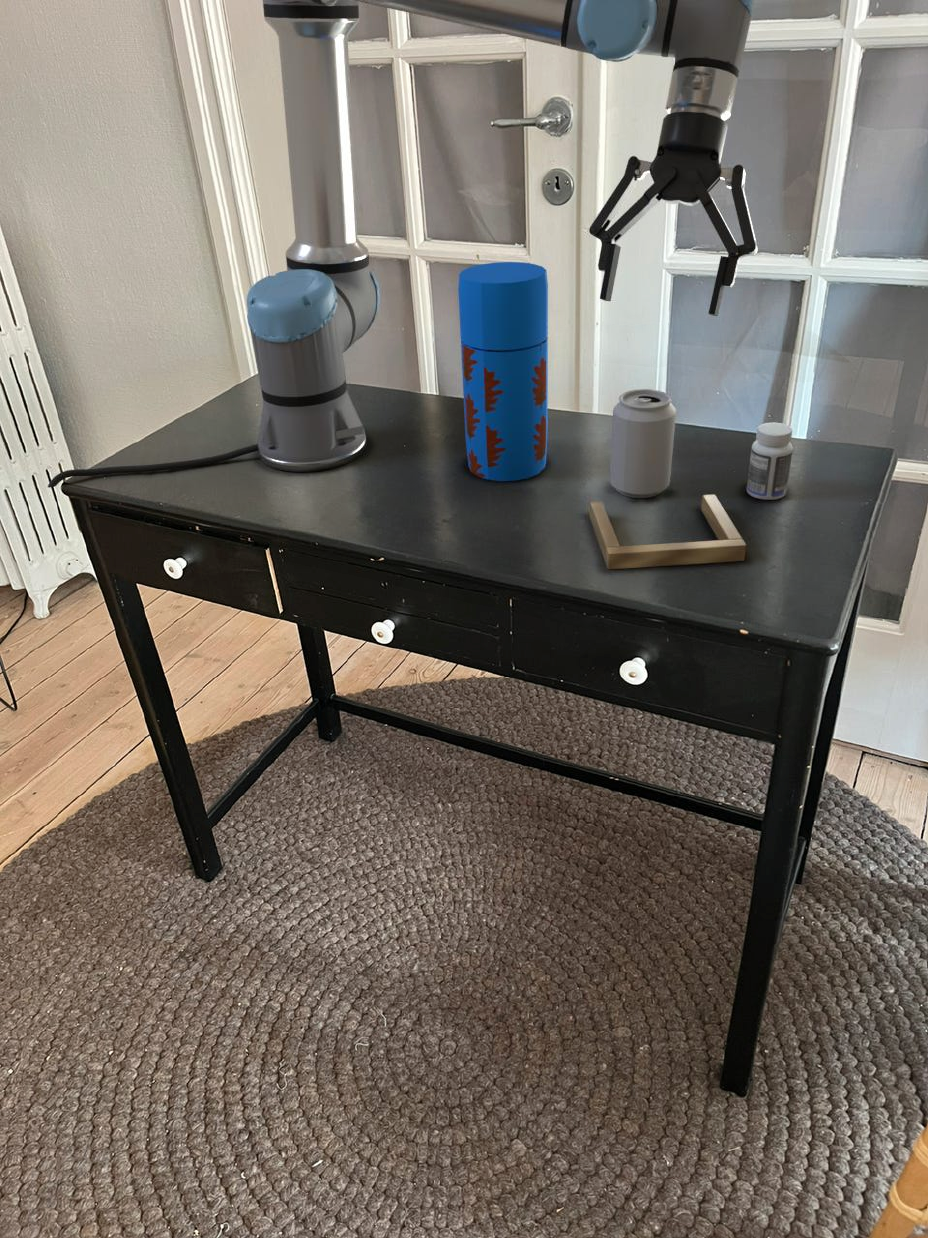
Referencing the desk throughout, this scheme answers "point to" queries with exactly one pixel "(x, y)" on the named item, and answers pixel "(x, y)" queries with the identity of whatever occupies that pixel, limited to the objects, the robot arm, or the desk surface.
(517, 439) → the thermos
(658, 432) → the can
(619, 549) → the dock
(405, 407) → the desk surface
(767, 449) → the pill bottle
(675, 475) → the desk surface
